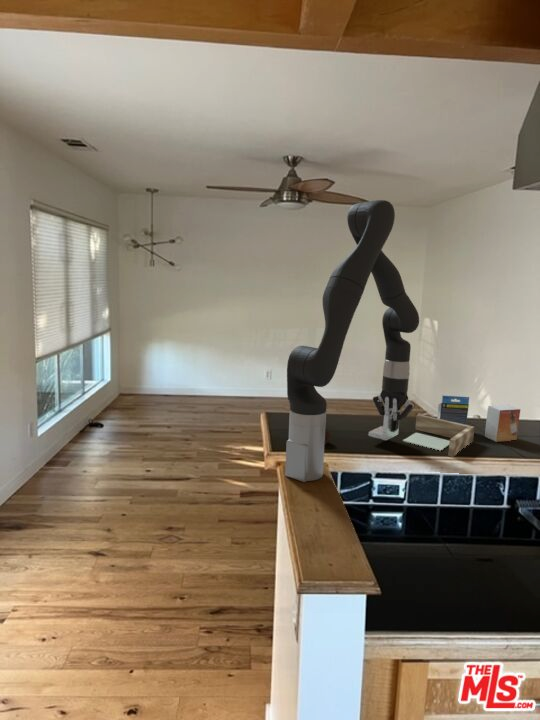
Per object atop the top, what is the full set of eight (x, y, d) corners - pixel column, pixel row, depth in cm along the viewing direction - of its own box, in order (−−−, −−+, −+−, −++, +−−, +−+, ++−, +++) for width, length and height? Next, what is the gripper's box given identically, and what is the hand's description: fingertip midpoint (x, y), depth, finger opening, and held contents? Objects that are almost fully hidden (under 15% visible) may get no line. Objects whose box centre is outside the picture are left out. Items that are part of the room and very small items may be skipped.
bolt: (311, 433, 168) (323, 448, 153) (299, 426, 167) (309, 441, 152) (320, 418, 168) (333, 432, 153) (308, 411, 167) (319, 424, 152)
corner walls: (452, 457, 146) (454, 440, 145) (393, 441, 157) (395, 426, 156) (472, 441, 159) (474, 426, 158) (417, 428, 170) (418, 414, 169)
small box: (495, 442, 159) (499, 410, 157) (483, 436, 164) (487, 405, 162) (517, 440, 161) (521, 409, 159) (504, 435, 166) (508, 404, 164)
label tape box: (462, 428, 171) (466, 393, 169) (465, 432, 167) (469, 397, 165) (435, 427, 172) (439, 392, 170) (438, 431, 168) (442, 395, 166)
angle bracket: (386, 440, 150) (388, 416, 149) (368, 435, 154) (370, 411, 153) (398, 434, 156) (400, 410, 155) (380, 429, 160) (382, 406, 159)
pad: (440, 451, 150) (440, 450, 150) (402, 441, 157) (402, 440, 157) (452, 442, 157) (452, 441, 157) (416, 433, 165) (416, 432, 165)
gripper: (369, 372, 152) (365, 428, 155) (412, 380, 143) (406, 439, 146) (381, 369, 157) (376, 423, 161) (422, 376, 149) (417, 433, 152)
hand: (391, 430), depth 153 cm, fingers closed on angle bracket, 1 cm apart
